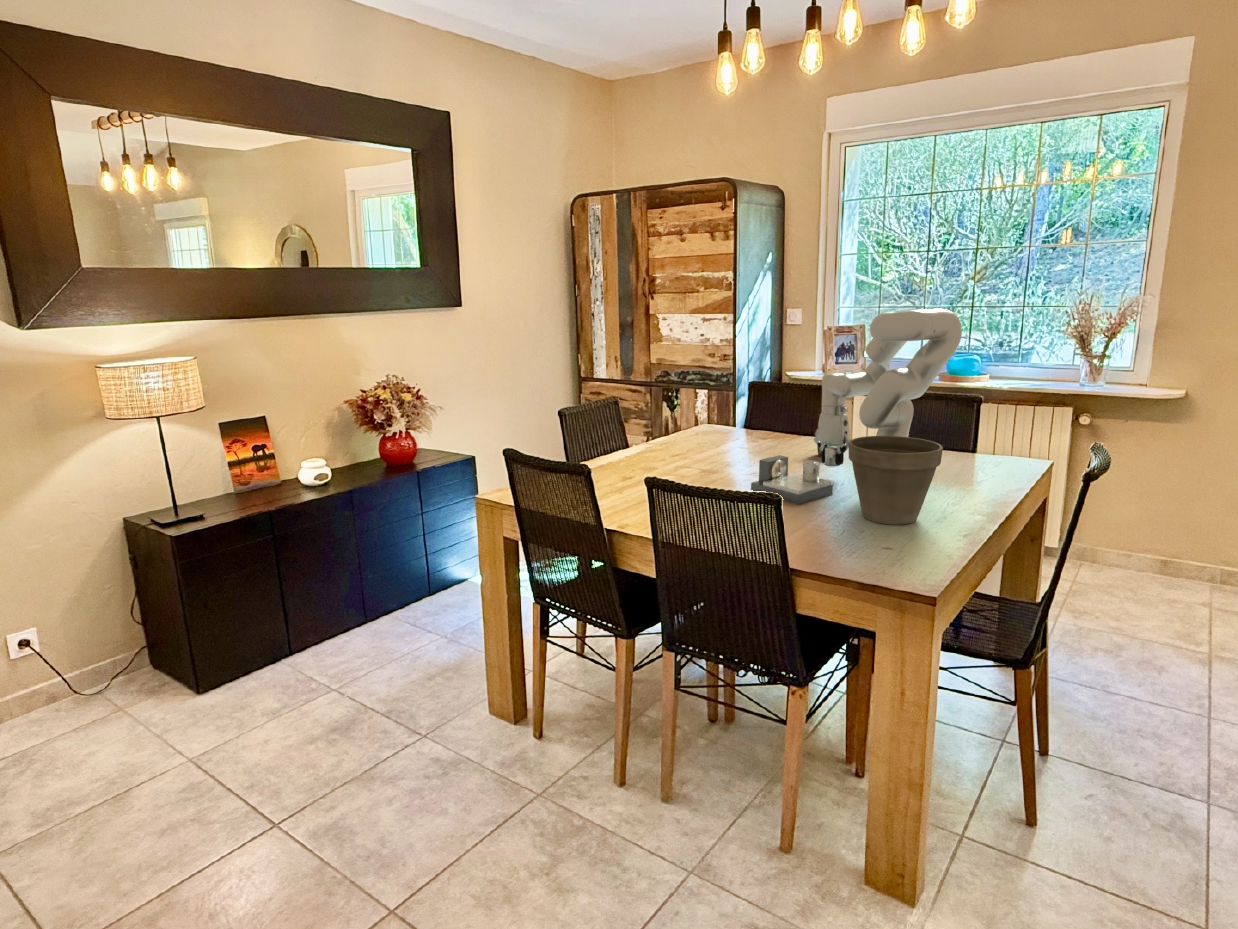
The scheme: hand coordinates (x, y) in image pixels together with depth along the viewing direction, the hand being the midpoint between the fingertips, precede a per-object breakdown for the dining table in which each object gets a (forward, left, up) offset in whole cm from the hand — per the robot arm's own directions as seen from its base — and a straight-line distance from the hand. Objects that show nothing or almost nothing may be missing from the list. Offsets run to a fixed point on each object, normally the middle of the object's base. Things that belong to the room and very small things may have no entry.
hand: (832, 462), depth 254 cm
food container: (+19, -25, -6) cm, 32 cm away
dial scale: (-2, +24, -6) cm, 25 cm away
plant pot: (-36, +23, -6) cm, 43 cm away
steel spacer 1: (-6, +20, -1) cm, 21 cm away
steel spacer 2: (0, 0, -1) cm, 1 cm away
